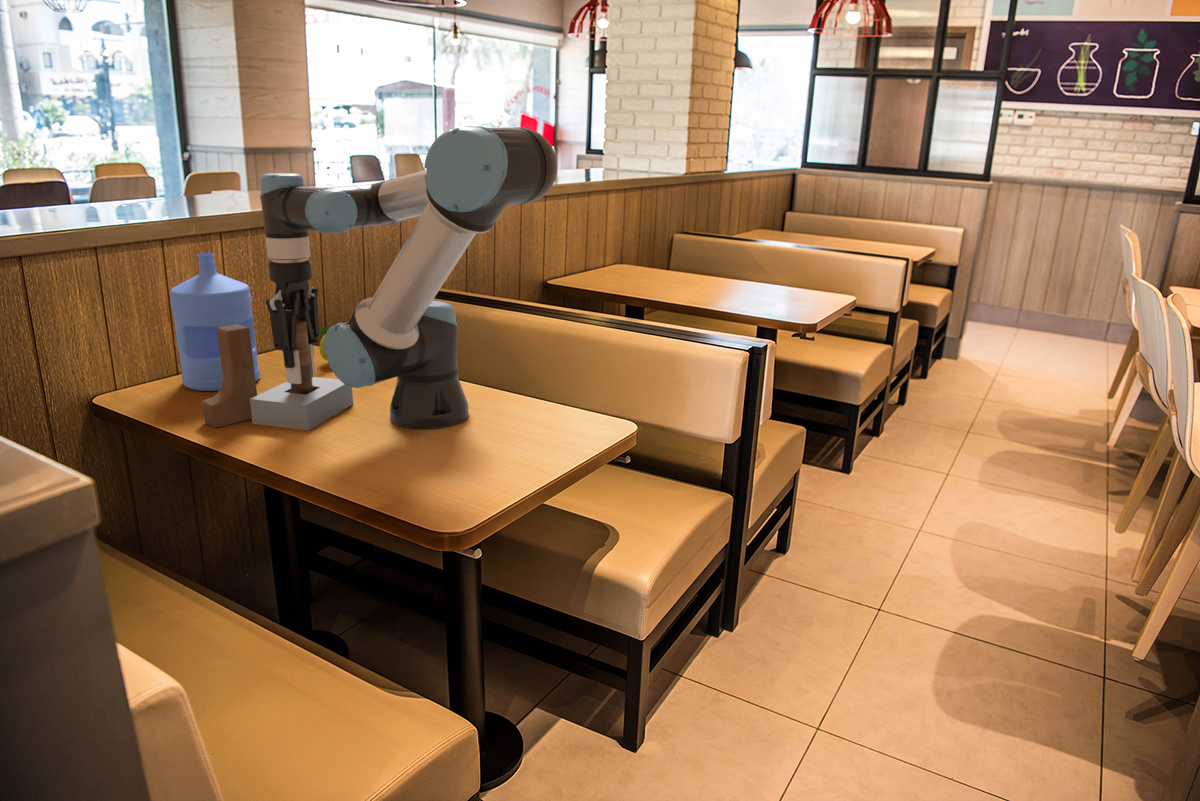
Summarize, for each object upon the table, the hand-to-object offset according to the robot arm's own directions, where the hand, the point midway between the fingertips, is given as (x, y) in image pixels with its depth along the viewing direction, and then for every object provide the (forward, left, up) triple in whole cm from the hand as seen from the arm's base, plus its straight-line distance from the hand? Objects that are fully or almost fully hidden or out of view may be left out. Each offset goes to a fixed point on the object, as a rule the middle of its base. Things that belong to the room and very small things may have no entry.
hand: (301, 379), depth 161 cm
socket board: (0, 0, -7) cm, 7 cm away
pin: (0, 0, -5) cm, 5 cm away
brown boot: (+11, +7, -7) cm, 15 cm away
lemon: (+14, -33, -7) cm, 37 cm away
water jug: (+29, -13, -7) cm, 33 cm away
